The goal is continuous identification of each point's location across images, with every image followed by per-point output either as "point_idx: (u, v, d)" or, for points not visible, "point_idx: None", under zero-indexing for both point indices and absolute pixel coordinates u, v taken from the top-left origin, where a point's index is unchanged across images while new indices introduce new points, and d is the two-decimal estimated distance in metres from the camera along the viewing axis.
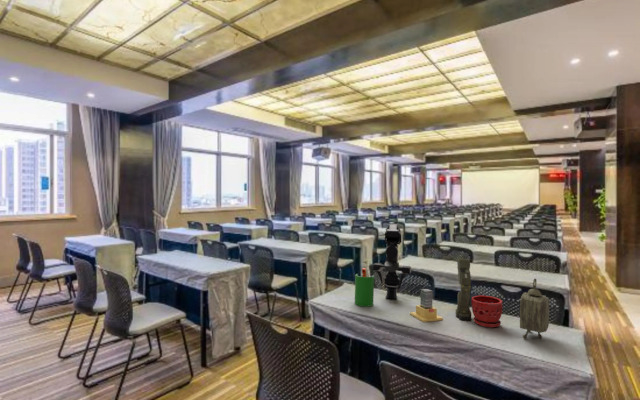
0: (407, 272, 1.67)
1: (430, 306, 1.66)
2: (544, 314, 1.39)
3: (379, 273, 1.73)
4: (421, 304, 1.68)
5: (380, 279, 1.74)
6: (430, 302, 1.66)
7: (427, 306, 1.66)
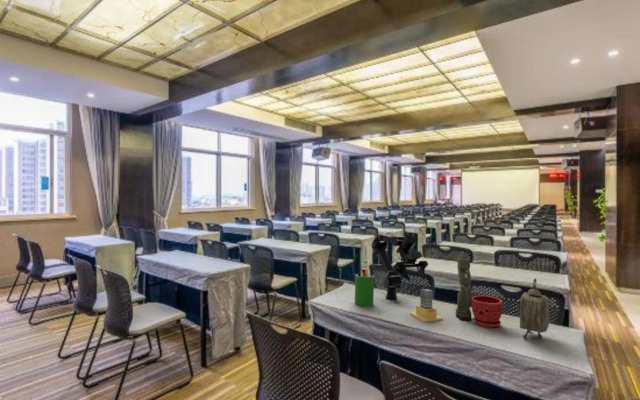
0: (426, 263, 1.82)
1: (430, 306, 1.66)
2: (544, 314, 1.39)
3: (404, 268, 1.77)
4: (421, 304, 1.68)
5: (406, 275, 1.75)
6: (430, 302, 1.66)
7: (427, 306, 1.66)
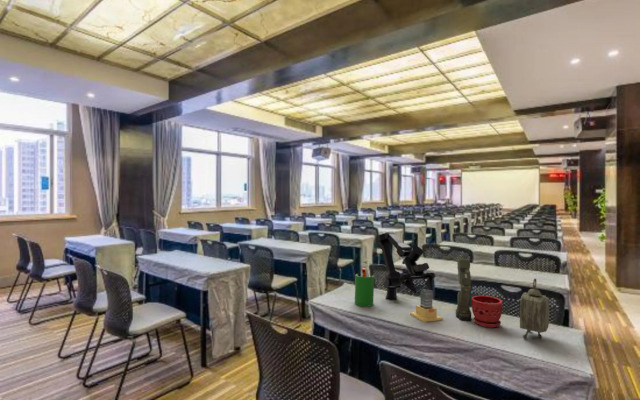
0: (434, 274, 1.76)
1: (430, 306, 1.66)
2: (544, 314, 1.39)
3: (411, 281, 1.70)
4: (421, 304, 1.68)
5: (413, 287, 1.69)
6: (430, 302, 1.66)
7: (427, 306, 1.66)
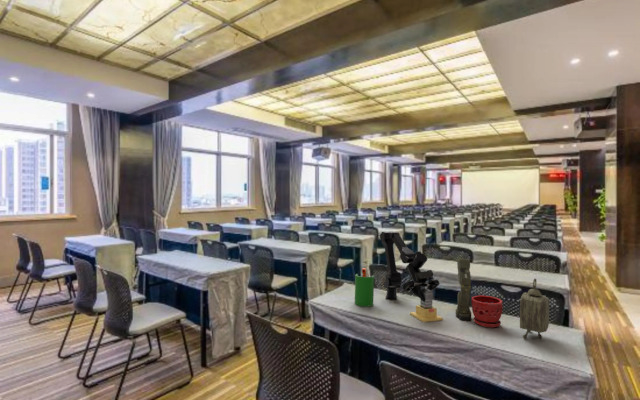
0: (438, 282, 1.72)
1: (430, 306, 1.66)
2: (544, 314, 1.39)
3: (419, 288, 1.68)
4: (421, 304, 1.68)
5: (421, 295, 1.67)
6: (430, 302, 1.66)
7: (427, 306, 1.66)
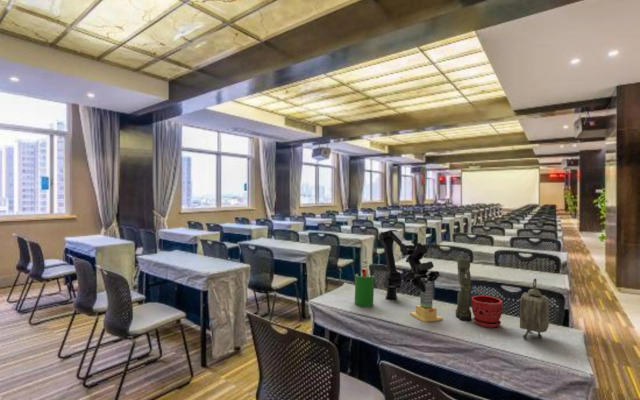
0: (438, 273, 1.72)
1: (430, 297, 1.66)
2: (544, 314, 1.39)
3: (419, 279, 1.68)
4: (421, 295, 1.68)
5: (422, 286, 1.67)
6: (430, 293, 1.66)
7: (427, 298, 1.66)
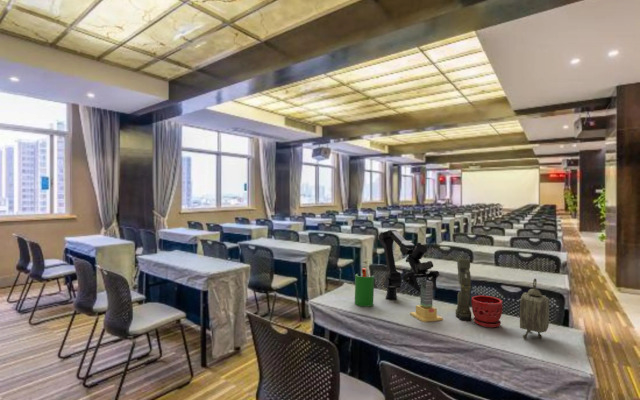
0: (438, 273, 1.73)
1: (430, 297, 1.66)
2: (544, 314, 1.39)
3: (415, 279, 1.67)
4: (421, 295, 1.68)
5: (417, 286, 1.66)
6: (430, 293, 1.66)
7: (427, 298, 1.66)
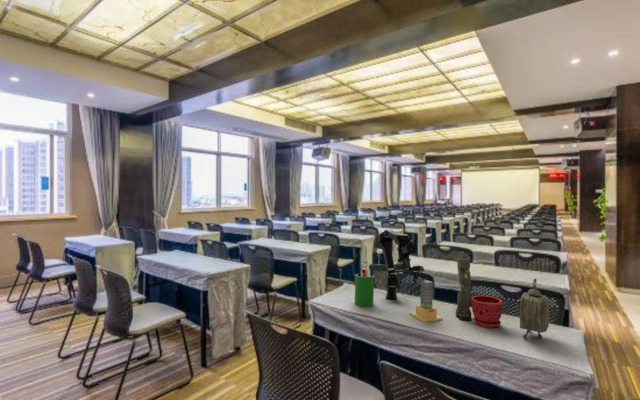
0: (417, 269, 1.75)
1: (430, 297, 1.66)
2: (544, 314, 1.39)
3: (394, 276, 1.84)
4: (421, 295, 1.68)
5: (396, 282, 1.83)
6: (430, 293, 1.66)
7: (427, 298, 1.66)
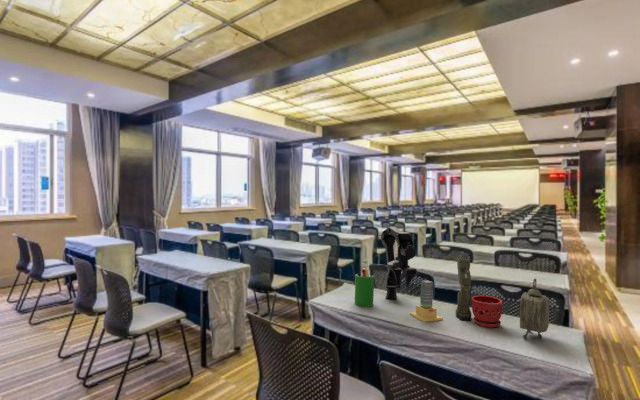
0: (406, 273, 1.75)
1: (430, 297, 1.66)
2: (544, 314, 1.39)
3: (393, 271, 1.88)
4: (421, 295, 1.68)
5: (395, 277, 1.88)
6: (430, 293, 1.66)
7: (427, 298, 1.66)
